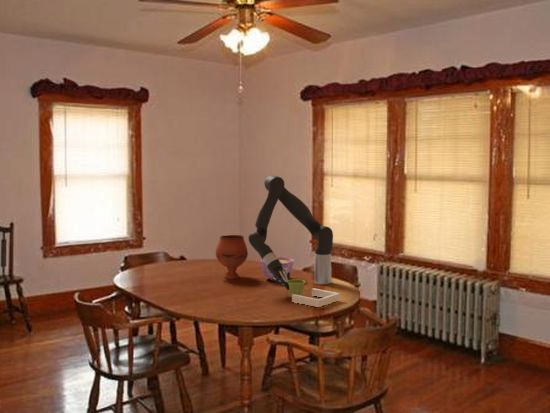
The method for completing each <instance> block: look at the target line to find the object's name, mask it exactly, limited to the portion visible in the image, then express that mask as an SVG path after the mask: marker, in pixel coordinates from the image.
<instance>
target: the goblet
mask: <svg viewBox="0 0 550 413" xmlns="http://www.w3.org/2000/svg"><path fill="white" fill-rule="evenodd" d="M244 238H245V236H244V235H242V234H240V235H239V234H227V235H221V236H219V240H218V243H217V246H216V249H215V256H216V260H217V261H218V262H219V263H220V264H221V266H224V267H226V268H227V272H226V273H225V274H224V278H225V279H231V280H232V279H238V278H239V277H240V275H239V274H238V273H237V269H238V268H239V267H241V266H242V265H243V264H244V263H245V261H247V258H248V254H249V252H248V251H249V250H248V248H247V244H246V242H245V239H244Z"/></svg>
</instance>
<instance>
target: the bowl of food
mask: <svg viewBox="0 0 550 413" xmlns="http://www.w3.org/2000/svg"><path fill="white" fill-rule="evenodd" d="M277 258H278V259H279V261H280V262H281V264H282V265H283V269H284V270H285V272H287V273H288V272H290V275H291V273H292V270H293V266H294V261H295V260H294V259H293V258H291V257H284V256H282V257H281V256H277ZM260 265H261V269H262V273H263V274H264V276H265V277H266V278H267V279H269V280H271V281H274V280H273V279H272V278H273V276H274V275H273V274H271V273H270V271H269V269H268V268H267V266H266V265H265V263H264V261H263V259H262V258H260Z"/></svg>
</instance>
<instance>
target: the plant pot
mask: <svg viewBox="0 0 550 413" xmlns="http://www.w3.org/2000/svg"><path fill="white" fill-rule="evenodd" d="M287 282H288V285H289V290H288V291H289V297H290V298H291V299H292V295H293V294H296V295H300V296H304V295H303V294H304V287H305V283H306V280H304V279H298V278H297V279H295V278H293V279H290V280H288V281H287Z"/></svg>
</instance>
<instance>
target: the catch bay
mask: <svg viewBox="0 0 550 413" xmlns="http://www.w3.org/2000/svg"><path fill="white" fill-rule="evenodd" d="M313 296H317V297H313ZM318 297H323V298H318ZM339 299H340V292H335V291H330V290H325V289H319V288H314V287H313V288H311V297H309V296H304V295H302V296H300V295H296V294H293V295H292V298H291V303H292V302H294V304H297V303H299V304H298V305H301V304H305V305H304V306H306V305H310V306H315V307H321V306H323V305H326V304H328V303H331V302H333V301H336V300H339ZM310 306H309V307H310ZM321 308H322V307H321Z"/></svg>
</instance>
